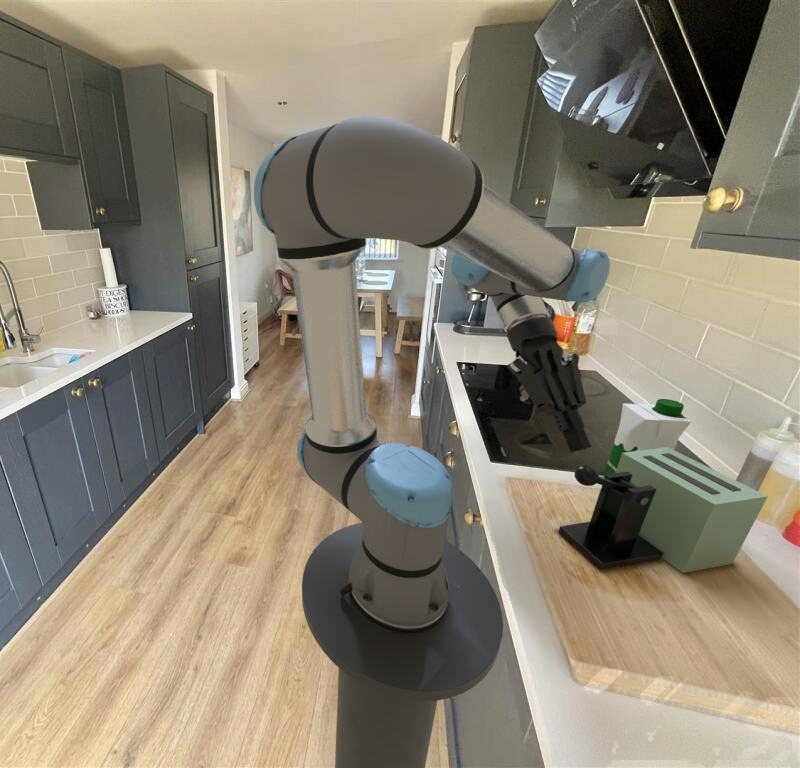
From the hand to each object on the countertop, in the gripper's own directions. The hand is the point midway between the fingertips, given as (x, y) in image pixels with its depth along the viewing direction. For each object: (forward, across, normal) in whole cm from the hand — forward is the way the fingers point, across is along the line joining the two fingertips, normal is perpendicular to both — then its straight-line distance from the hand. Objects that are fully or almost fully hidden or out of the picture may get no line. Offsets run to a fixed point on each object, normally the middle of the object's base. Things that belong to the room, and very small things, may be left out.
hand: (580, 449), depth 65 cm
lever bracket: (+16, -9, -12) cm, 22 cm away
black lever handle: (+7, -4, -3) cm, 8 cm away
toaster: (+16, -20, -12) cm, 28 cm away
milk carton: (+6, -29, -22) cm, 37 cm away
